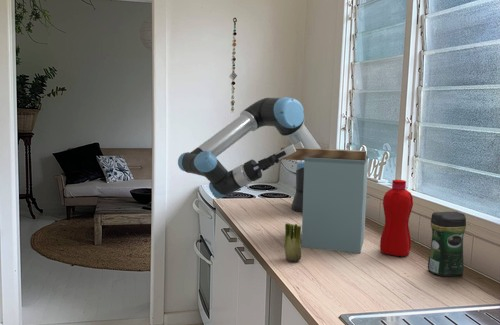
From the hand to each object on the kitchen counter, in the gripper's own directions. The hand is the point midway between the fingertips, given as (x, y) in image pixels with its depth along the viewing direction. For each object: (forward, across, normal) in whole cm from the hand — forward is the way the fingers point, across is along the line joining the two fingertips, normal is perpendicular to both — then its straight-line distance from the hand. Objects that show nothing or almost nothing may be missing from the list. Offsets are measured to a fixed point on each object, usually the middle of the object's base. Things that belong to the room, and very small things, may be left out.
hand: (298, 146), depth 163 cm
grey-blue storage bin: (-6, -4, -37) cm, 37 cm away
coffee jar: (+25, +14, -55) cm, 62 cm away
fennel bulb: (-14, +20, -32) cm, 40 cm away
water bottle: (+12, -1, -47) cm, 49 cm away
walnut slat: (+5, 0, -8) cm, 10 cm away
